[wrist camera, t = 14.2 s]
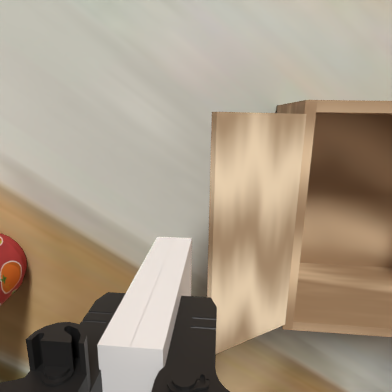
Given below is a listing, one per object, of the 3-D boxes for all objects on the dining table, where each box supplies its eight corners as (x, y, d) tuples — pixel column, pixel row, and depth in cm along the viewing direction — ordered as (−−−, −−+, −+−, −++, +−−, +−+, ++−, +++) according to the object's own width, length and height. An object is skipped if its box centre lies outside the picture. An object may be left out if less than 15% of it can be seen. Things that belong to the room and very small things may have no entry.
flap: (284, 324, 19) (209, 356, 16) (280, 320, 19) (205, 351, 17) (306, 114, 16) (216, 112, 13) (300, 114, 16) (212, 112, 13)
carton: (401, 271, 27) (484, 343, 19) (264, 263, 28) (282, 329, 20) (434, 107, 24) (556, 102, 15) (277, 105, 25) (305, 100, 16)
